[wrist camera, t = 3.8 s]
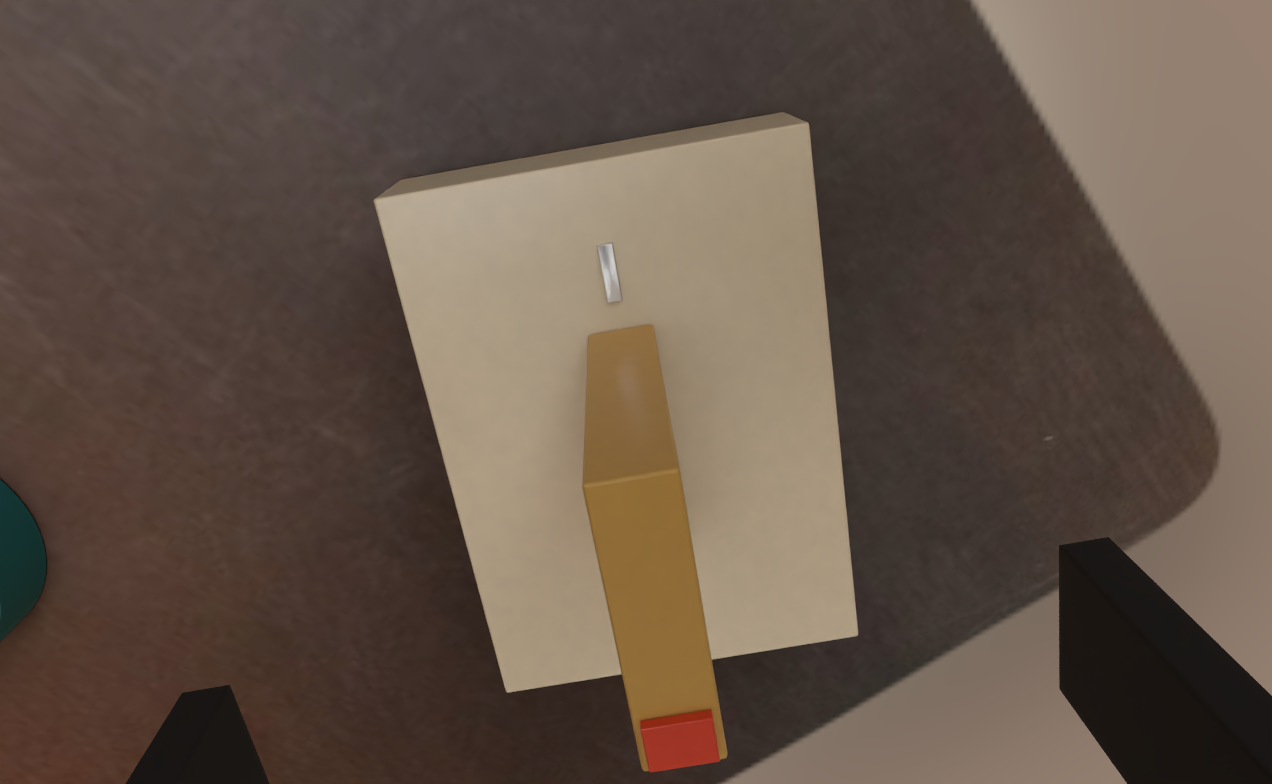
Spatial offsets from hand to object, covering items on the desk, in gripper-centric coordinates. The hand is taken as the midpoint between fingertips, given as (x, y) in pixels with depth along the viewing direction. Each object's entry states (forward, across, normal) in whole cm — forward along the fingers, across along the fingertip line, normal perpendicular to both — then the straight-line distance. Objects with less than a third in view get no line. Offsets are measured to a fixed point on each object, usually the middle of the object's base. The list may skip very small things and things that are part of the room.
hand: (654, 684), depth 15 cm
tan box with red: (+9, 0, 0) cm, 9 cm away
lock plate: (+12, 0, 0) cm, 12 cm away
